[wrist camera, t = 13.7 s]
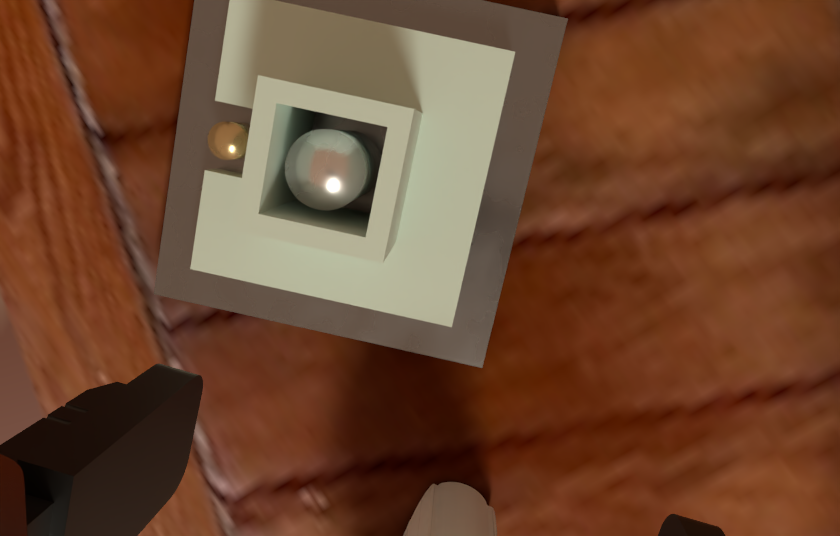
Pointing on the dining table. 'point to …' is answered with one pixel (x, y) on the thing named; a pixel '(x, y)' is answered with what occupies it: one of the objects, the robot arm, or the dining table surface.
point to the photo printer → (452, 513)
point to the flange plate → (399, 169)
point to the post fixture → (361, 173)
